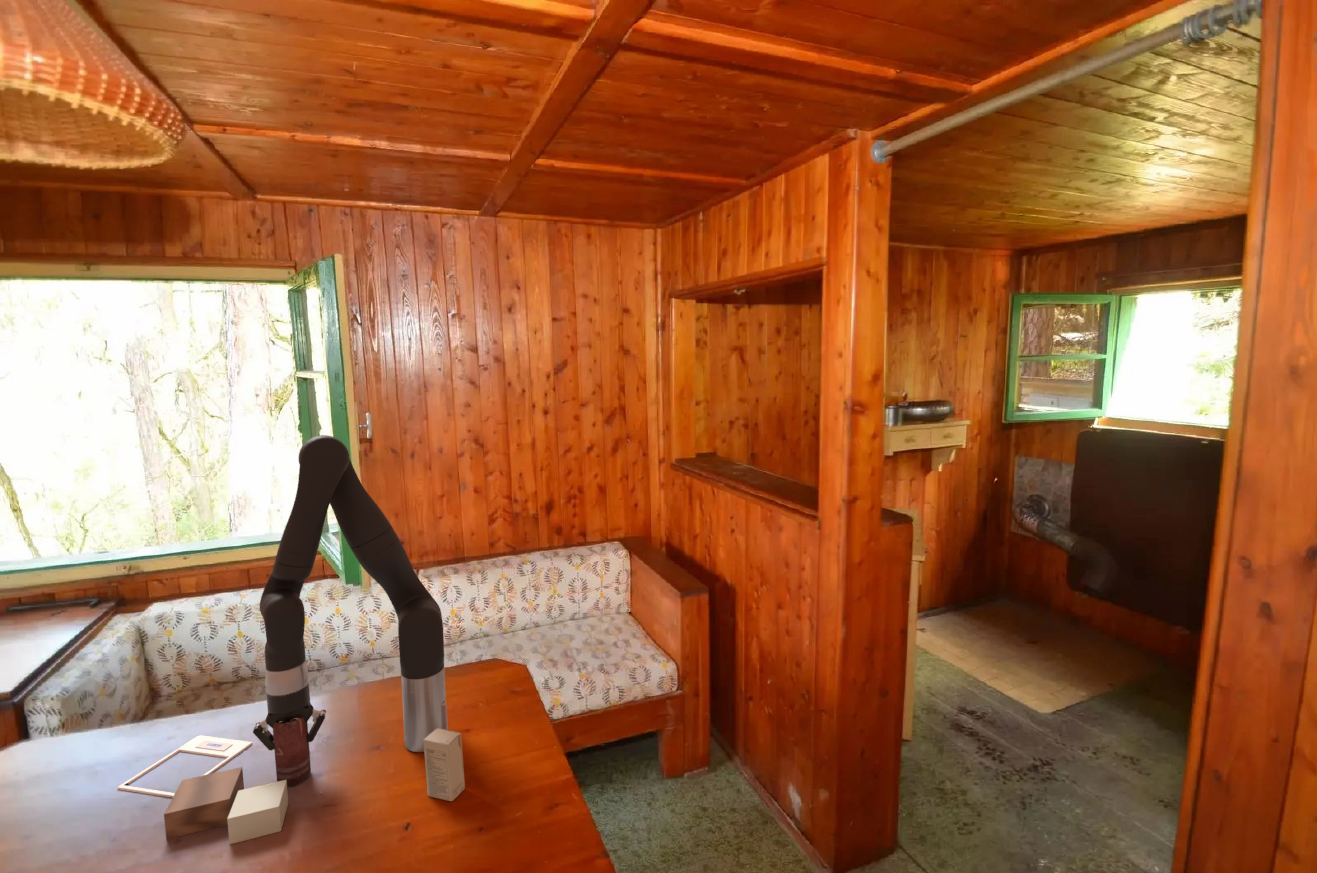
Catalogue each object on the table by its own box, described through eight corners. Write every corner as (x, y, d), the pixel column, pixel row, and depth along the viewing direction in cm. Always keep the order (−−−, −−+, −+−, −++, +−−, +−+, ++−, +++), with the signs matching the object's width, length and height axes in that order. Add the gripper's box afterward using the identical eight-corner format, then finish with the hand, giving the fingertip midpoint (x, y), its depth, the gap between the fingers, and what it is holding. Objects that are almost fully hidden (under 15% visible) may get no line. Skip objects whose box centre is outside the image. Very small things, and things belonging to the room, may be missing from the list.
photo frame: (252, 741, 139) (176, 795, 121) (252, 746, 139) (177, 800, 121) (199, 734, 142) (117, 786, 124) (199, 738, 142) (117, 791, 124)
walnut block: (244, 789, 124) (242, 767, 123) (231, 823, 115) (229, 799, 114) (184, 803, 120) (182, 780, 119) (166, 839, 111) (163, 814, 110)
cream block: (288, 803, 120) (286, 779, 119) (280, 831, 113) (278, 806, 112) (240, 814, 117) (238, 790, 116) (229, 844, 110) (227, 819, 109)
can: (296, 790, 124) (291, 725, 122) (270, 786, 125) (264, 722, 123) (318, 770, 130) (314, 709, 128) (293, 767, 131) (288, 706, 129)
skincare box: (465, 788, 124) (463, 732, 122) (452, 803, 120) (449, 745, 118) (439, 781, 126) (437, 726, 125) (425, 795, 122) (422, 738, 120)
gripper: (327, 669, 131) (332, 744, 133) (252, 682, 126) (259, 760, 128) (323, 686, 124) (328, 765, 126) (243, 700, 119) (250, 782, 121)
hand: (293, 762), depth 127 cm, fingers closed
